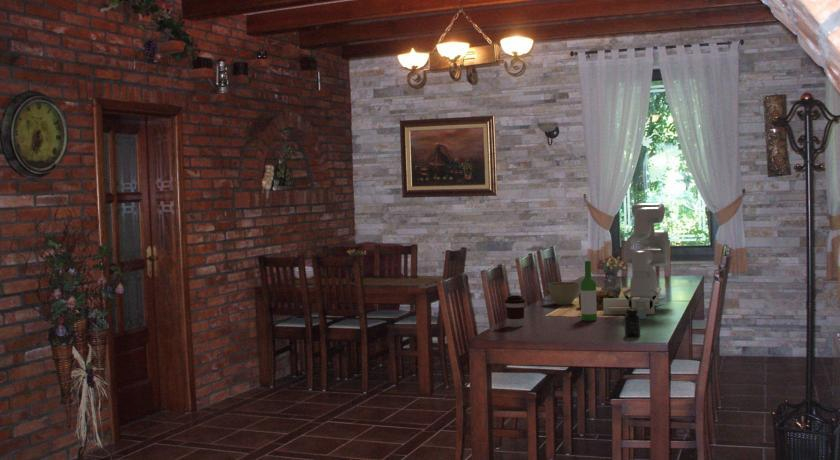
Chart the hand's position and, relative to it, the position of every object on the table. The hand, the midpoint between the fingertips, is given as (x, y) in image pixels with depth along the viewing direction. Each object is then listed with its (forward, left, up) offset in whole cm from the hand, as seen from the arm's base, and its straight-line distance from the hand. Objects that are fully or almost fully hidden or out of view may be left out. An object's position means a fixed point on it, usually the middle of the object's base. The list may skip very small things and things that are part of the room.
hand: (640, 308), depth 427 cm
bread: (+3, -42, -5) cm, 42 cm away
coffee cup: (+66, -5, -5) cm, 67 cm away
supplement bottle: (+30, +44, -5) cm, 54 cm away
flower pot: (+11, -65, -5) cm, 66 cm away
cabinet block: (0, 0, -5) cm, 5 cm away
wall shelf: (-1, -14, -5) cm, 15 cm away
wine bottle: (+26, -5, -5) cm, 27 cm away
